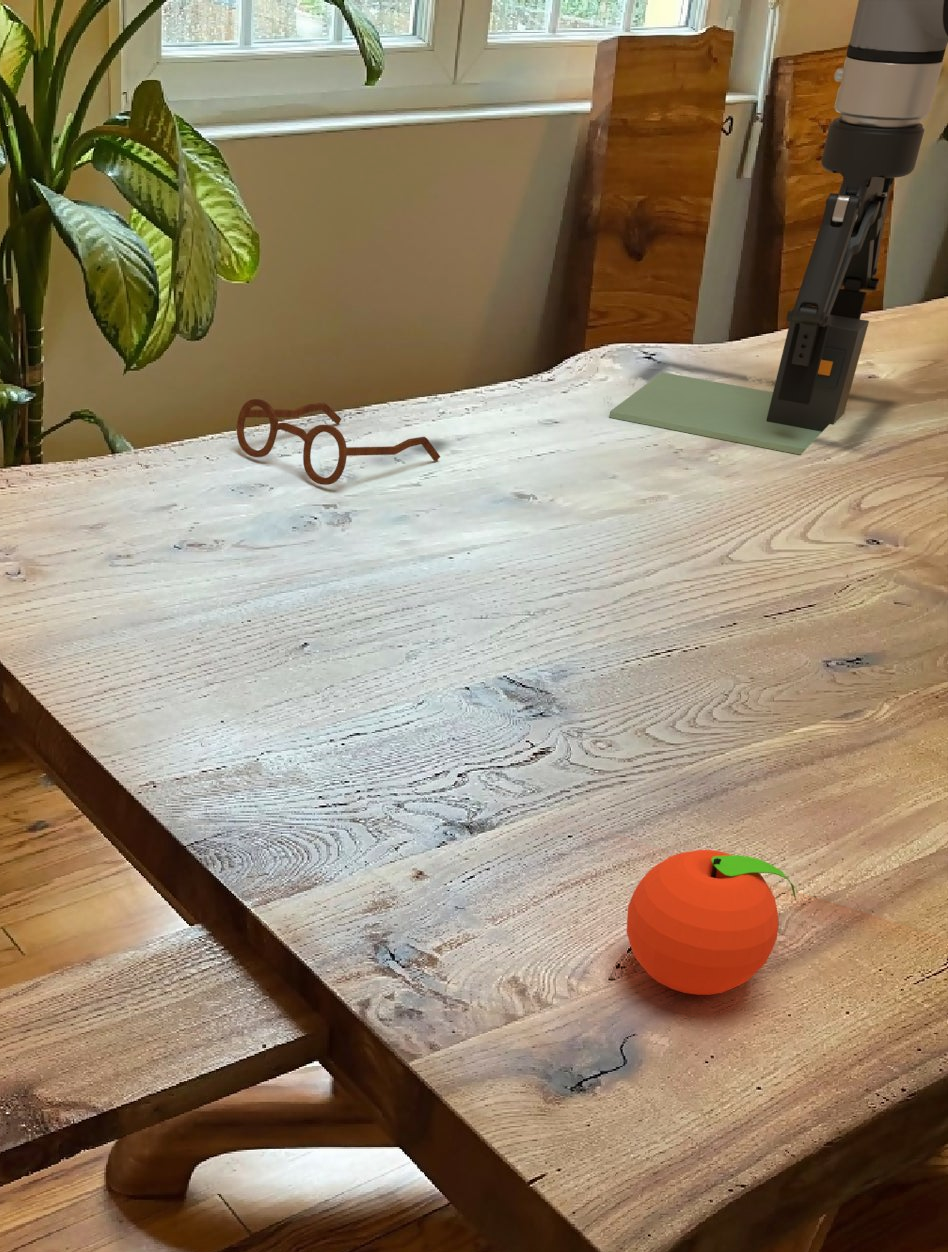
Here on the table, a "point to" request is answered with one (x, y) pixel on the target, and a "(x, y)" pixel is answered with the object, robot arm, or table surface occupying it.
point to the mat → (712, 412)
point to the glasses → (309, 437)
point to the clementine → (704, 920)
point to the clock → (823, 377)
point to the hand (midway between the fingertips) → (813, 382)
